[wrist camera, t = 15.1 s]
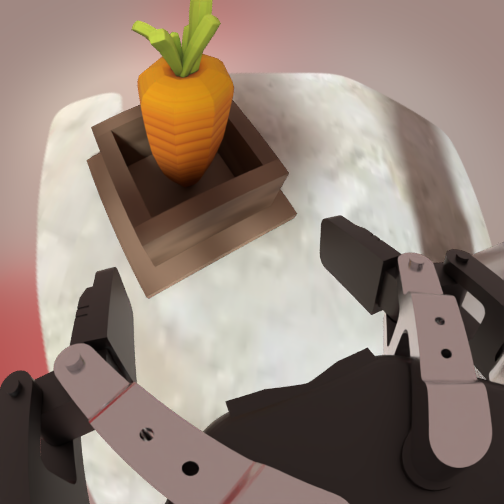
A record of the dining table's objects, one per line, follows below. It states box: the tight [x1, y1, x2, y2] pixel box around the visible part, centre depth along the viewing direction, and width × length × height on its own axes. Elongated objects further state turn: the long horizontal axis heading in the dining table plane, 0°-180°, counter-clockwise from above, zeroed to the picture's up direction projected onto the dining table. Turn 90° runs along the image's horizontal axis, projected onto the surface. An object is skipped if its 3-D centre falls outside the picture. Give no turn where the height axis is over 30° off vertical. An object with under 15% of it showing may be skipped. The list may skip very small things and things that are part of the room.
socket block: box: [87, 100, 297, 298], centre depth 20 cm, size 13×13×6 cm
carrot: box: [132, 0, 234, 187], centre depth 15 cm, size 5×5×15 cm
